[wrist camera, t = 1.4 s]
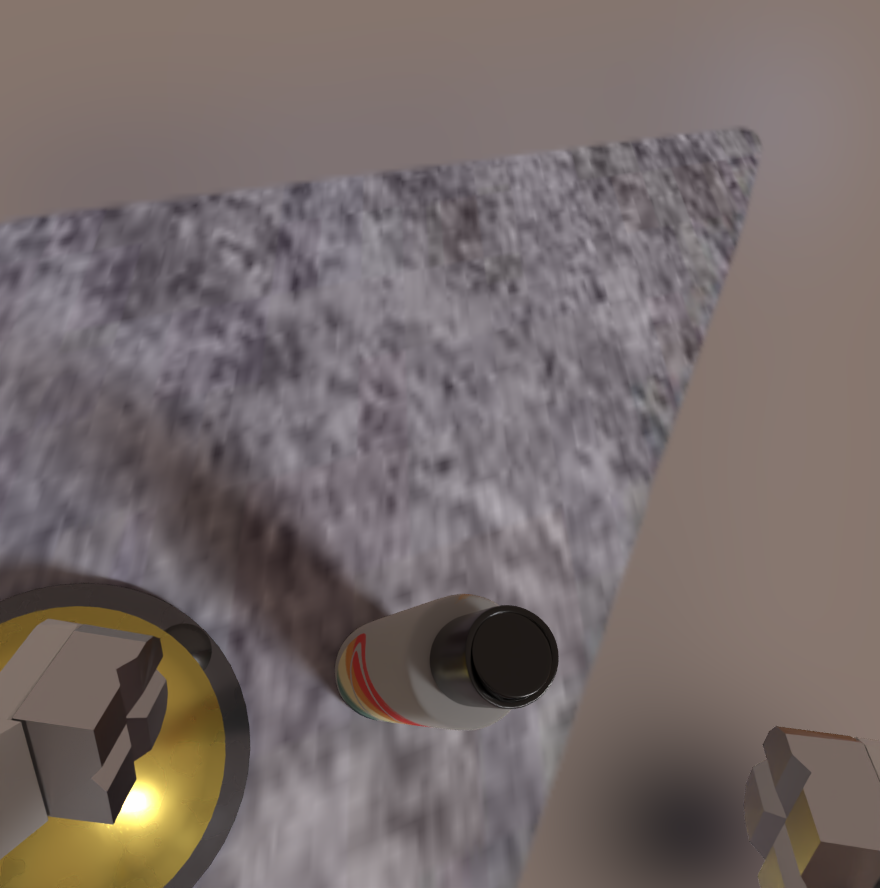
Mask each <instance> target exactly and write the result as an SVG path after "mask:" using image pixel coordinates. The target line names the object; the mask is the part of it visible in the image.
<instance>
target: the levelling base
mask: <svg viewBox="0 0 880 888" xmlns="http://www.w3.org/2000/svg"><path fill="white" fill-rule="evenodd" d="M47 619H54V620H60V621H66V622H72V623H78V624H87V625H93V626H99V627H104V628H110V629H116V630H122V631H127V632H133V633H139V634H145V635H151V636H155V637H157V638H160V641H161V646H162V651H163V658H162V660H161V661H160V663H159V665H158V667H157V670H158V671H159V672H160V673H161V674H162V675H163V676H164V678H165V679H166V680H167V689H168V699H167V710H166V713H165V717H164V720H163V724H162V727H161V731H160V733H159V735H158V737H157V739H156V741H155V743H154V746H153V748H152V750H150V751H149V752H147V753H146V754H145V755H143V756H142V757H140V758H139V759H137V760H136V761H134V765H135V772H136V778H137V780H136V782H135V784H134V785H133V787H132V789H131V791H130V793H129V795H128V797H127V799H126V801H125V803H124V805H123V807H122V809H121V811H120V813H119V815H118V817H117V819H116V821H115V823H114V825H111V824H103V823H96V822H88V821H80V820H72V819H65V818H57V817H49V816H48V821H47V822H46V823H45V824H43V825H42V826H41V827H40V828H39V829H37V830H36V831H35V832H34V833H32V834H31V835H30V836H29V837H27V838H26V839H25V840H24V841H23V842H21V843H20V844H19V845H18V846H16V847H15V848H14V849H13V850H11V851H10V852H9V853H8V854H7V855H5V856H4V857H3V858H2V859H0V888H192V887H193V886H194V885H195V884H196V882H197V881H198V880H199V879H200V877H201V876H202V875H203V874H204V872H205V871H206V870H207V869H208V867H209V866H210V865H211V863H212V861H213V860H214V858H215V857H216V855H217V853H218V852H219V850H220V849H221V847H222V845H223V844H224V842H225V840H226V838H227V836H228V833H229V831H230V829H231V827H232V825H233V823H234V821H235V818H236V815H237V812H238V810H239V807H240V804H241V801H242V798H243V794H244V789H245V785H246V780H247V775H248V767H249V756H250V732H249V722H248V716H247V710H246V704H245V701H244V698H243V695H242V691H241V688H240V685H239V682H238V680H237V678H236V676H235V674H234V672H233V669H232V667H231V665H230V663H229V662H228V660H227V659H226V657H225V656H224V654H223V653H222V651H221V649H220V648H219V646H218V645H217V644H216V643H215V642H214V641H213V639H212V638H211V637H210V636H209V635H208V634H207V632H206V631H205V630H204V629H202V628H201V627H200V626H199V625H198V624H197V623H196V622H194V621H193V620H192V619H191V618H190V617H189V616H187V615H186V614H184V613H183V612H181V611H180V610H178V609H176V608H175V607H173V606H172V605H170V604H168V603H166V602H164V601H162V600H160V599H158V598H155V597H153V596H151V595H148V594H145V593H142V592H139V591H136V590H133V589H129V588H123V587H118V586H113V585H105V584H89V583H81V584H64V585H57V586H51V587H45V588H40V589H35V590H32V591H29V592H25V593H22V594H19V595H15V596H12V597H10V598H8V599H5V600H3V601H1V602H0V672H1V670H2V669H3V668H4V666H5V665H6V664H7V663H8V661H9V660H10V659H11V658H12V656H13V655H14V654H15V652H16V651H17V650H18V649H19V647H20V646H21V645H22V643H23V642H24V641H25V640H26V638H27V637H28V636H29V634H30V633H31V632H32V631H33V629H34V628H35V627H36V626H37V625H38V624H40V623H42V622H43V621H45V620H47Z"/></svg>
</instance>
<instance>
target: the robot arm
mask: <svg viewBox="0 0 880 888" xmlns="http://www.w3.org/2000/svg"><path fill="white" fill-rule="evenodd" d="M162 658H163V651H162V646H161V641H160V638H157V637H155V636H151V635H145V634H139V633H133V632H127V631H122V630H116V629H110V628H104V627H99V626H93V625H87V624H78V623H72V622H66V621H60V620H54V619H47V620H45V621H43V622H42V623H40V624H38V625H37V626H36V627H35V628H34V629H33V631H32V632H31V633H30V634H29V636H28V637H27V638H26V640H25V641H24V642H23V643H22V645H21V646H20V647H19V649H18V650H17V651H16V652H15V654H14V655H13V656H12V658H11V659H10V660H9V661H8V663H7V664H6V665H5V666H4V668H3V669H2V670H1V672H0V859H2V858H3V857H4V856H5V855H7V854H8V853H9V852H10V851H11V850H13V849H14V848H15V847H16V846H18V845H19V844H20V843H21V842H23V841H24V840H25V839H26V838H27V837H29V836H30V835H31V834H32V833H34V832H35V831H36V830H37V829H39V828H40V827H41V826H42V825H43V824H45V823H46V822H47V821H48V816H49V817H57V818H65V819H72V820H80V821H88V822H96V823H103V824H111V825H114V823H115V821H116V819H117V817H118V815H119V813H120V811H121V809H122V807H123V805H124V803H125V801H126V799H127V797H128V795H129V793H130V791H131V789H132V787H133V785H134V784H135V782H136V780H137V778H136V772H135V765H134V761H136V760H137V759H139V758H140V757H142V756H143V755H145V754H146V753H147V752H149V751H150V750H152V748H153V746H154V743H155V741H156V739H157V737H158V735H159V733H160V731H161V727H162V724H163V720H164V717H165V713H166V710H167V699H168V689H167V680H166V679H165V678H164V676H163V675H162V674H161V673H160V672H159V671H158V670H157V667H158V665H159V663H160V661H161V660H162ZM763 747H764V751H765V754H766V758H767V759H766V760H764V761H762V762H761V763H759V764H757V765H755V766H753V767H752V770H751V772H750V775H749V777H748V780H747V783H746V787H745V796H744V815H745V824H746V828H747V833H748V837H749V842H750V843H751V844H752V845H753V846H754V847H755V848H756V849H757V851H758V852H759V853H760V854H761V855H762V856H763V858H764V859H765V862H764V864H763V866H762V868H761V870H760V872H759V874H758V879H759V883H760V887H761V888H880V741H879V740H872V739H865V738H858V737H855V738H853V737H851V736H846V735H839V734H831V733H824V732H817V731H810V730H802V729H794V728H786V727H779V726H776V727H774V728H773V729H772V730H770V731H769V733H768V735H767V737H766V739H765V741H764V743H763Z"/></svg>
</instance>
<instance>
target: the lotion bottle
mask: <svg viewBox="0 0 880 888" xmlns="http://www.w3.org/2000/svg"><path fill="white" fill-rule="evenodd" d="M557 667H558V648H557V644H556V641H555V638H554V636H553V634H552V632H551V630H550V629H549V627H548V626H547V625H546V624H545V623H544V622H543V621H542V620H541V619H540V618H539V617H538V616H536V615H535V614H534V613H532V612H530V611H528V610H526V609H524V608H521V607H517V606H511V605H501V606H499V605H498V604H496V603H495V602H493V601H491V600H489V599H486V598H484V597H480V596H476V595H470V594H457V595H451V596H447V597H443V598H440V599H437V600H434V601H431V602H428V603H425V604H422V605H419V606H416V607H413V608H410V609H407V610H404V611H401V612H398V613H395V614H392V615H389V616H386V617H383V618H381V619H378V620H375V621H372V622H370V623H367V624H365V625H363V626H361V627H359V628H358V629H356V630H355V631H354V632H353V633H351V634H350V635H349V636H348V637H347V639H346V640H345V641H344V643H343V644H342V646H341V648H340V650H339V652H338V655H337V659H336V664H335V679H336V684H337V687H338V690H339V692H340V695H341V696H342V698H343V700H344V701H345V702H346V704H347V705H348V706H349V707H350V708H351V709H352V710H354V711H355V712H356V713H358V714H360V715H362V716H364V717H366V718H369V719H373V720H378V721H385V722H393V723H401V724H409V725H417V726H425V727H433V728H441V729H450V730H477V729H481V728H484V727H487V726H490V725H492V724H494V723H496V722H497V721H499V720H500V719H502V718H503V717H504V716H506V715H507V714H508V713H509V712H510V711H511V709H516V708H521V707H524V706H526V705H529V704H531V703H533V702H534V701H536V700H537V699H538V698H540V697H541V696H542V695H543V694H544V693H545V692H546V690H547V689H548V688H549V686H550V685H551V683H552V681H553V680H554V677H555V675H556V672H557Z"/></svg>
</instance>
